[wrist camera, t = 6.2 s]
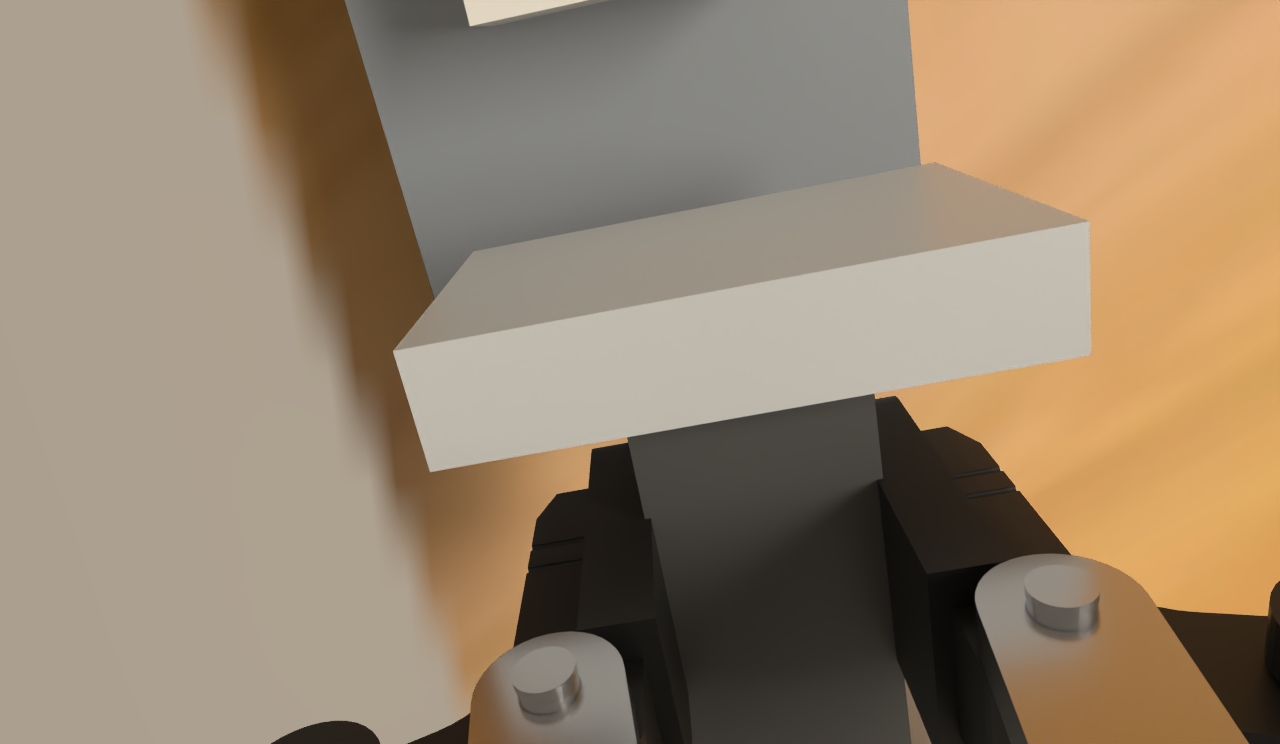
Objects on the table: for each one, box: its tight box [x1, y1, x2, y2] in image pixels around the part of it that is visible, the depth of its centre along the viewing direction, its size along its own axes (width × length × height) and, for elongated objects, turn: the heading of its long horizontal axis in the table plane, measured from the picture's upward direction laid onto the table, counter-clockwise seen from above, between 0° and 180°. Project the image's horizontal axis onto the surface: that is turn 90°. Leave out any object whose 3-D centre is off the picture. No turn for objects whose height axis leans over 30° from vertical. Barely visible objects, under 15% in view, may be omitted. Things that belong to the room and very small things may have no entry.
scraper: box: [393, 163, 1091, 744], centre depth 11 cm, size 8×6×4 cm
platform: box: [345, 0, 921, 299], centre depth 14 cm, size 12×8×4 cm, turn 11°
